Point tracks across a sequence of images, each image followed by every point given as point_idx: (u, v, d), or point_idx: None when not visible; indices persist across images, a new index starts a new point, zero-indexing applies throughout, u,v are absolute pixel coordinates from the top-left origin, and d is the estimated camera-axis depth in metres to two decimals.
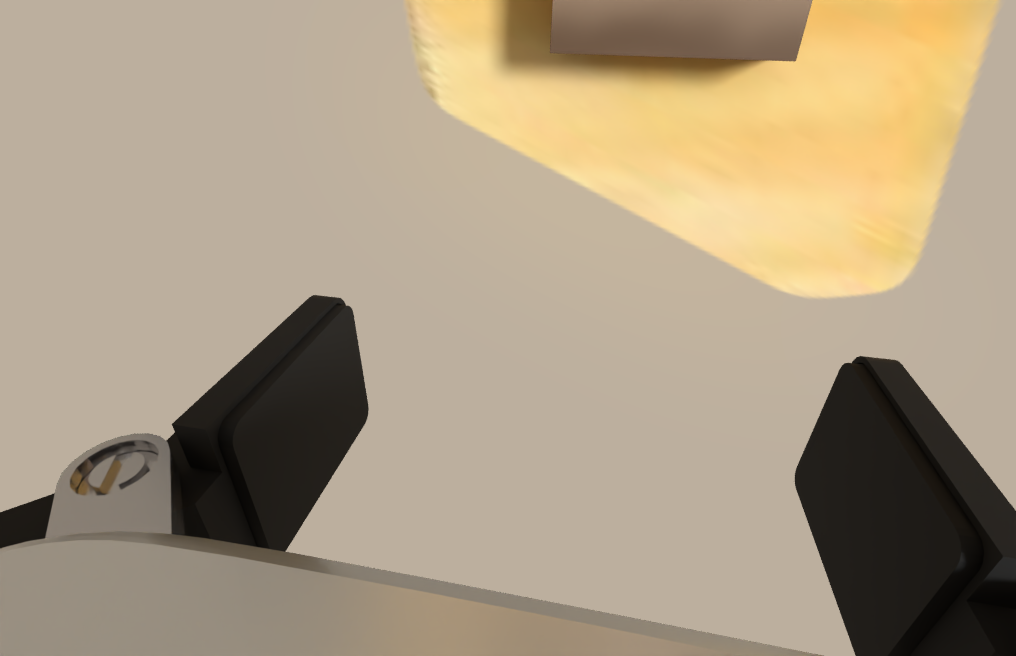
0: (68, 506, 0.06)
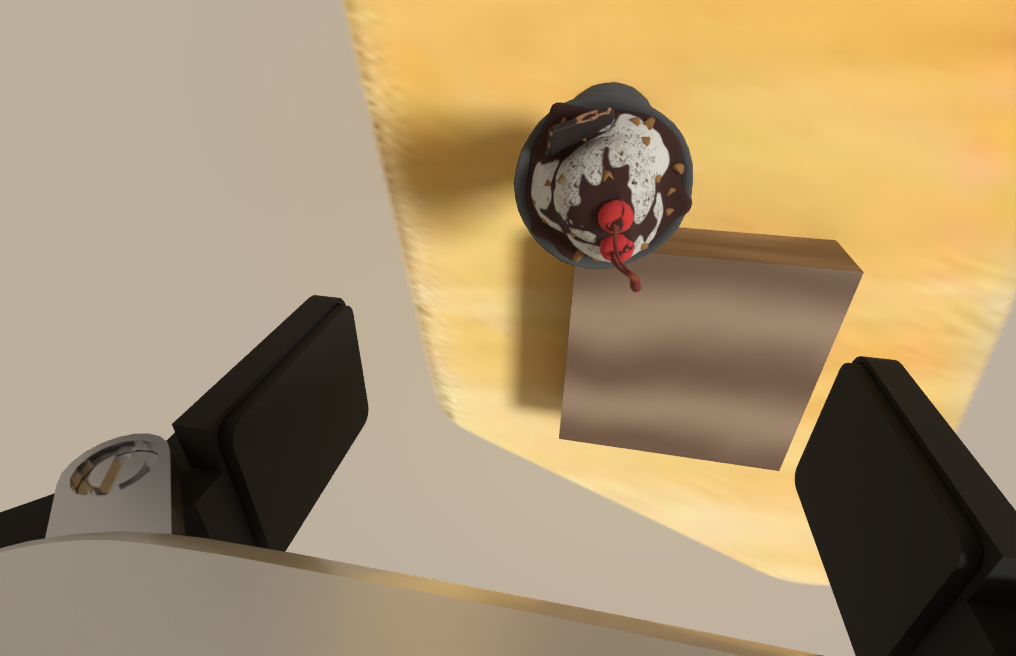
0: (68, 506, 0.06)
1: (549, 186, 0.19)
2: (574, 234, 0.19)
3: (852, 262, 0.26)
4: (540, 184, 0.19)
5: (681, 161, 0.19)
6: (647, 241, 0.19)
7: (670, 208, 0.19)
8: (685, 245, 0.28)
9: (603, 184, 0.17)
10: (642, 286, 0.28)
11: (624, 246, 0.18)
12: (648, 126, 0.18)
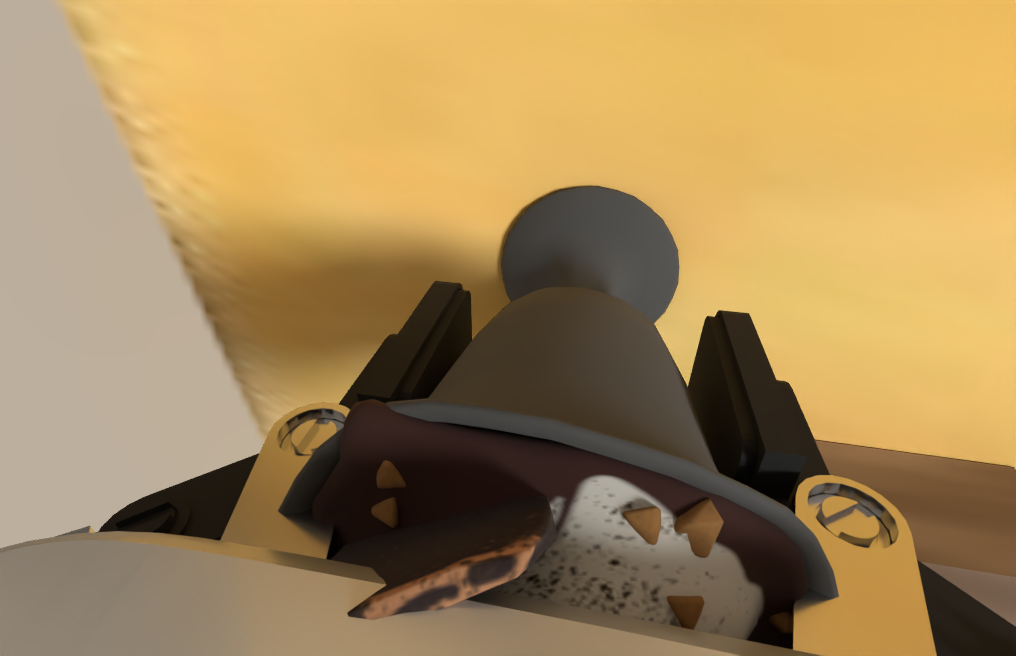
0: (287, 464, 0.07)
1: None
2: None
3: None
4: None
5: (799, 592, 0.05)
6: None
7: None
8: None
9: None
10: None
11: None
12: (694, 542, 0.05)
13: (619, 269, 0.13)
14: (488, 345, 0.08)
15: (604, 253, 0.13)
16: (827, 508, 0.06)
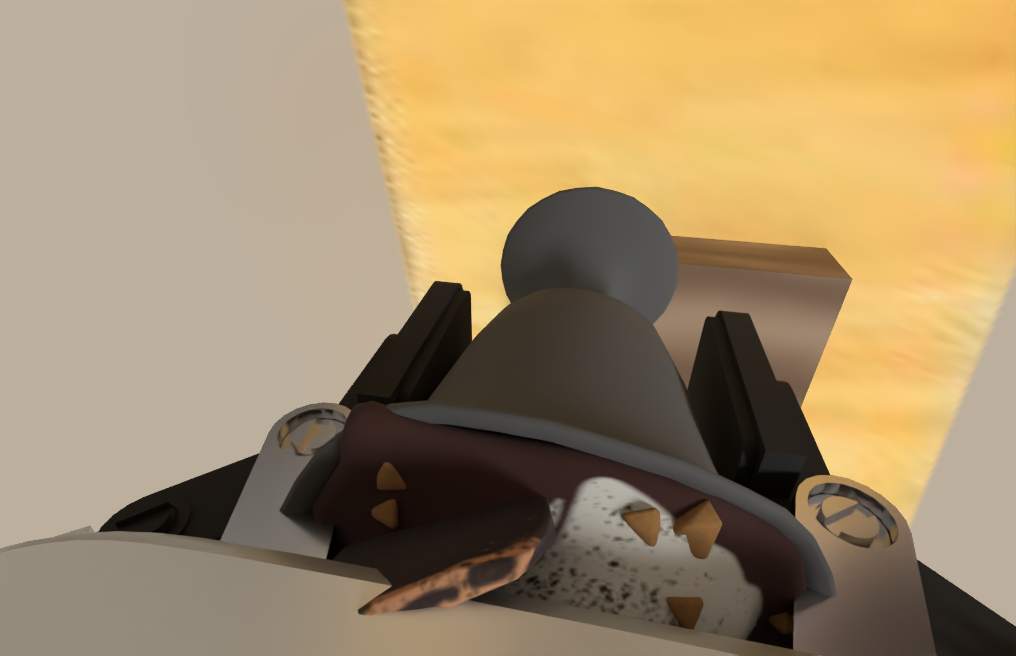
0: (287, 464, 0.07)
1: None
2: None
3: (842, 269, 0.27)
4: None
5: (798, 593, 0.06)
6: None
7: None
8: (679, 253, 0.29)
9: None
10: None
11: None
12: (693, 543, 0.05)
13: (618, 270, 0.13)
14: (488, 346, 0.08)
15: (603, 254, 0.13)
16: (827, 508, 0.06)
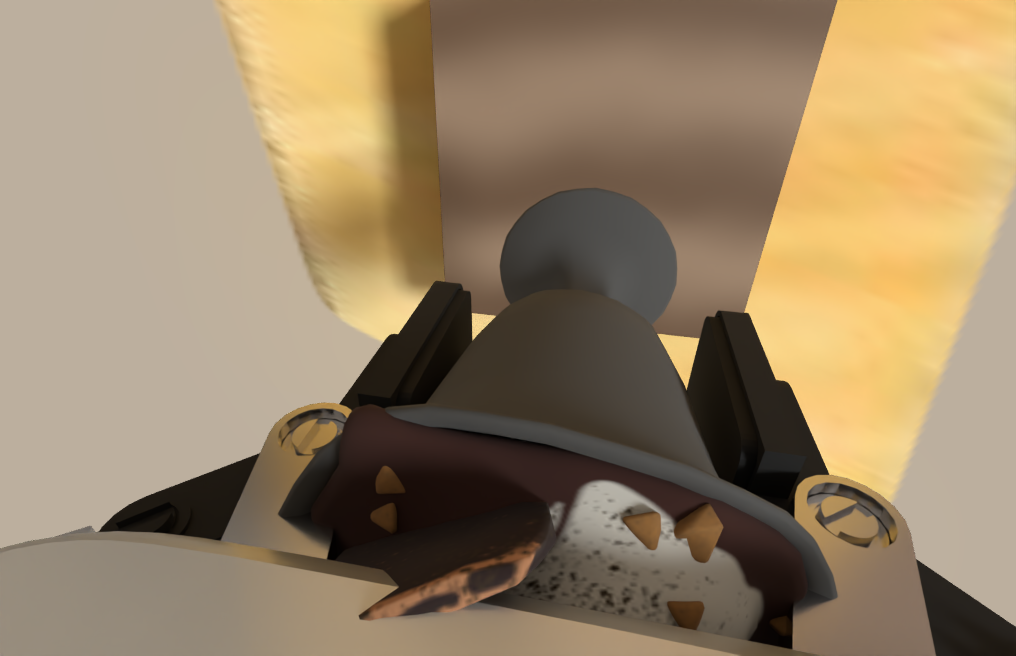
0: (287, 464, 0.07)
1: None
2: None
3: None
4: None
5: (799, 595, 0.05)
6: None
7: None
8: None
9: None
10: (526, 42, 0.19)
11: None
12: (694, 547, 0.05)
13: (617, 270, 0.13)
14: (487, 348, 0.08)
15: (602, 255, 0.13)
16: (826, 508, 0.06)
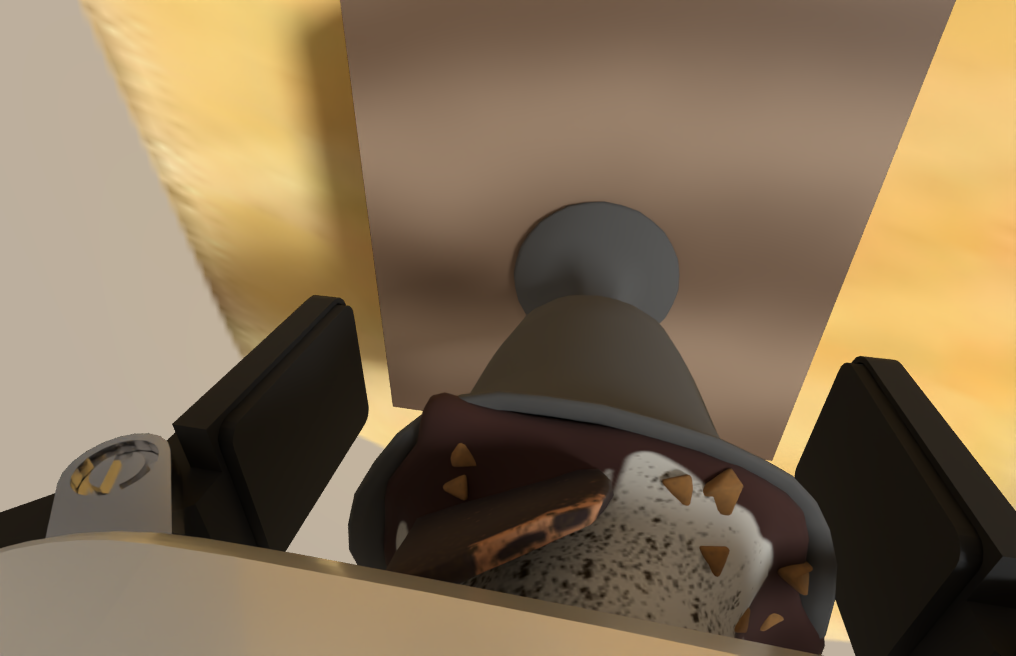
0: (68, 506, 0.06)
1: None
2: None
3: None
4: None
5: (801, 549, 0.07)
6: None
7: None
8: None
9: None
10: (482, 66, 0.13)
11: None
12: (720, 503, 0.06)
13: (624, 277, 0.15)
14: (523, 347, 0.09)
15: (611, 263, 0.15)
16: None
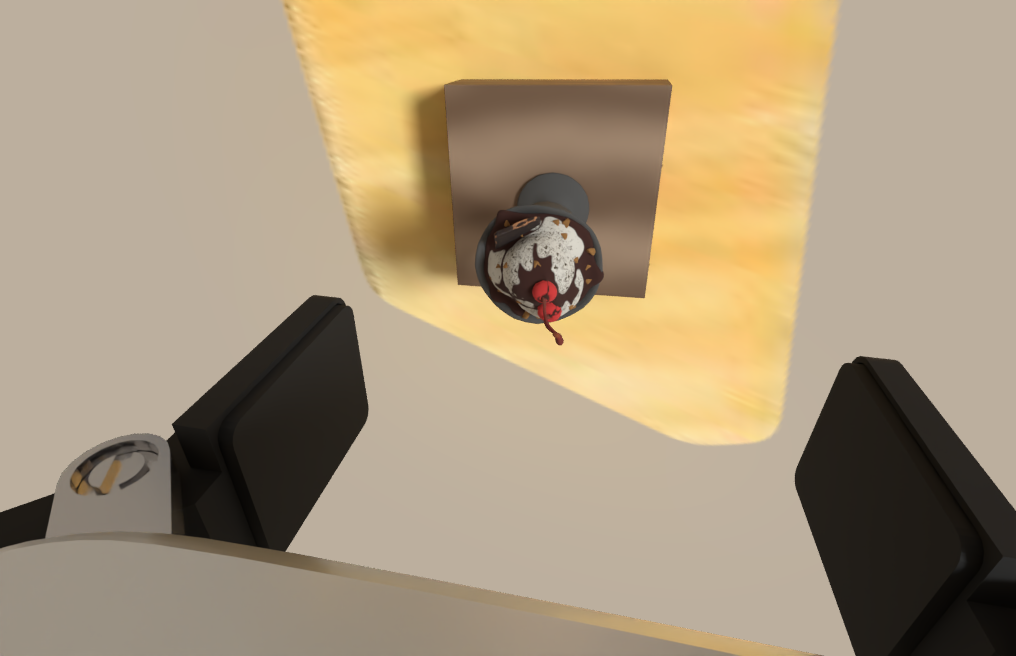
0: (68, 506, 0.06)
1: (499, 268, 0.26)
2: (519, 302, 0.26)
3: (668, 83, 0.32)
4: (493, 266, 0.27)
5: (593, 246, 0.26)
6: (573, 303, 0.27)
7: (588, 279, 0.27)
8: (535, 83, 0.33)
9: (534, 270, 0.24)
10: (501, 118, 0.33)
11: (553, 311, 0.25)
12: (565, 225, 0.25)
13: (564, 204, 0.34)
14: None
15: (558, 198, 0.34)
16: None
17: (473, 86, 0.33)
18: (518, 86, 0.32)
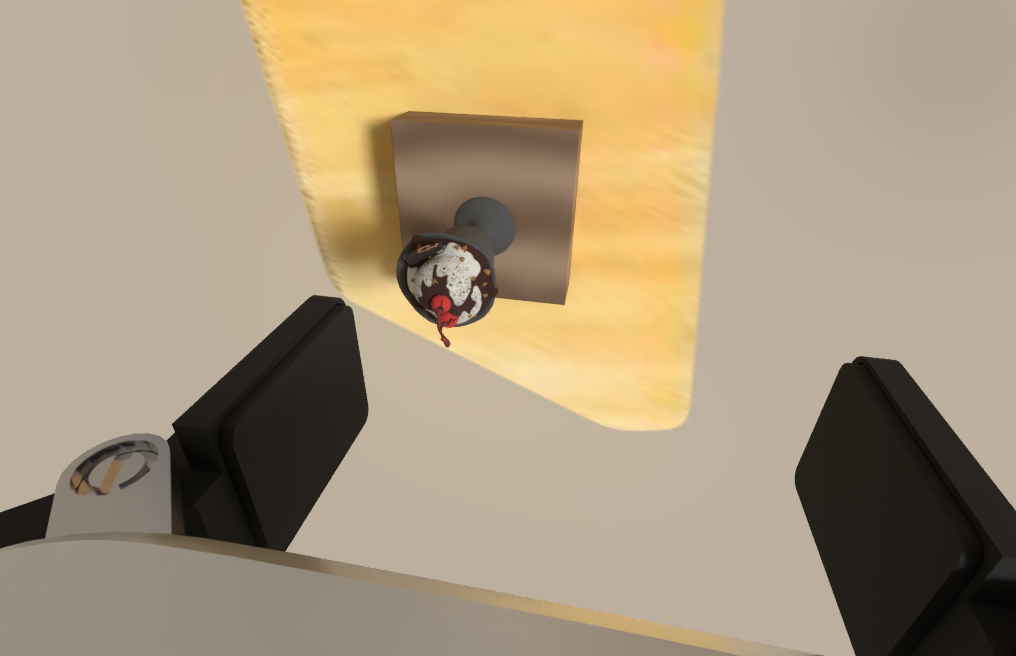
0: (68, 506, 0.06)
1: None
2: (427, 310, 0.32)
3: (578, 127, 0.37)
4: (409, 279, 0.33)
5: (488, 267, 0.32)
6: (471, 313, 0.33)
7: (485, 293, 0.33)
8: (469, 120, 0.39)
9: (432, 286, 0.30)
10: (439, 150, 0.39)
11: (450, 319, 0.31)
12: (463, 250, 0.31)
13: (491, 224, 0.40)
14: None
15: (486, 219, 0.40)
16: None
17: (414, 122, 0.38)
18: (452, 124, 0.38)
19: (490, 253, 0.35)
